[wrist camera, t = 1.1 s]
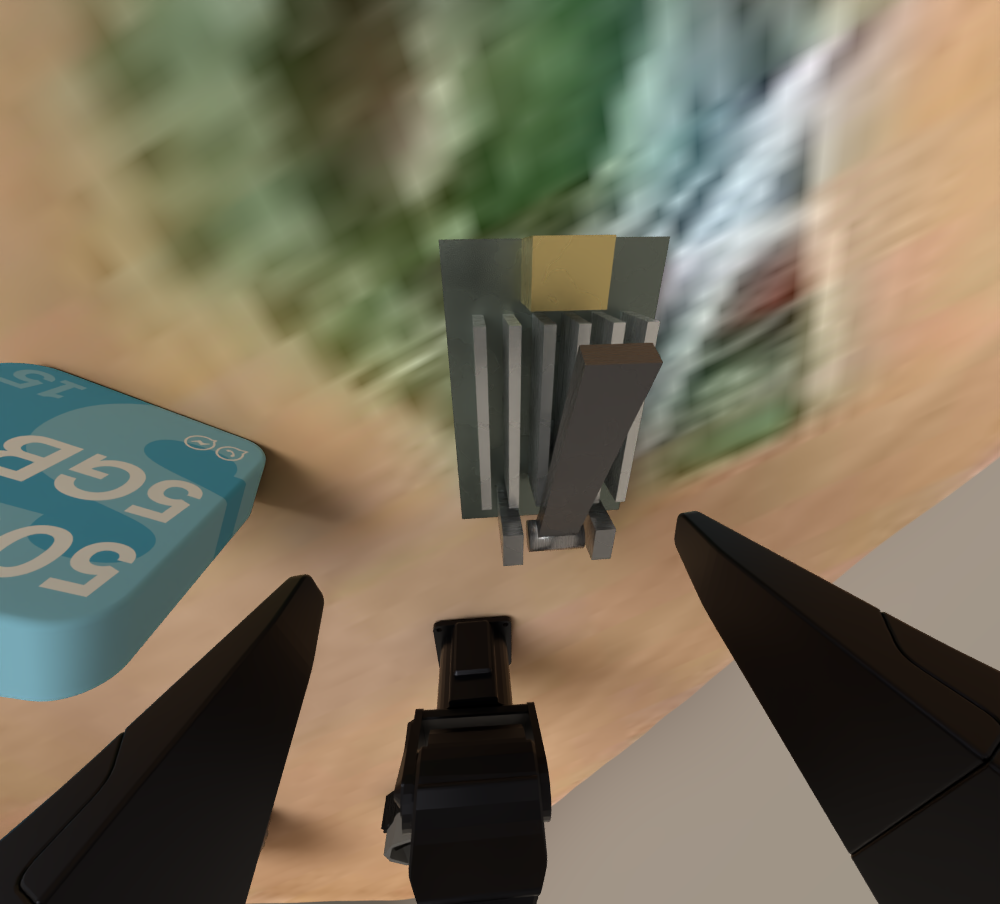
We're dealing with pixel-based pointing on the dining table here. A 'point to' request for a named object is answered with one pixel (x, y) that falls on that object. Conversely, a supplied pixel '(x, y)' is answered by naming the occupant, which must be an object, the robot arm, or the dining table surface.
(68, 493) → the data package
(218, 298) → the dining table surface
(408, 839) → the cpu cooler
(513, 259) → the heatsink
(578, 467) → the dark grey bar
